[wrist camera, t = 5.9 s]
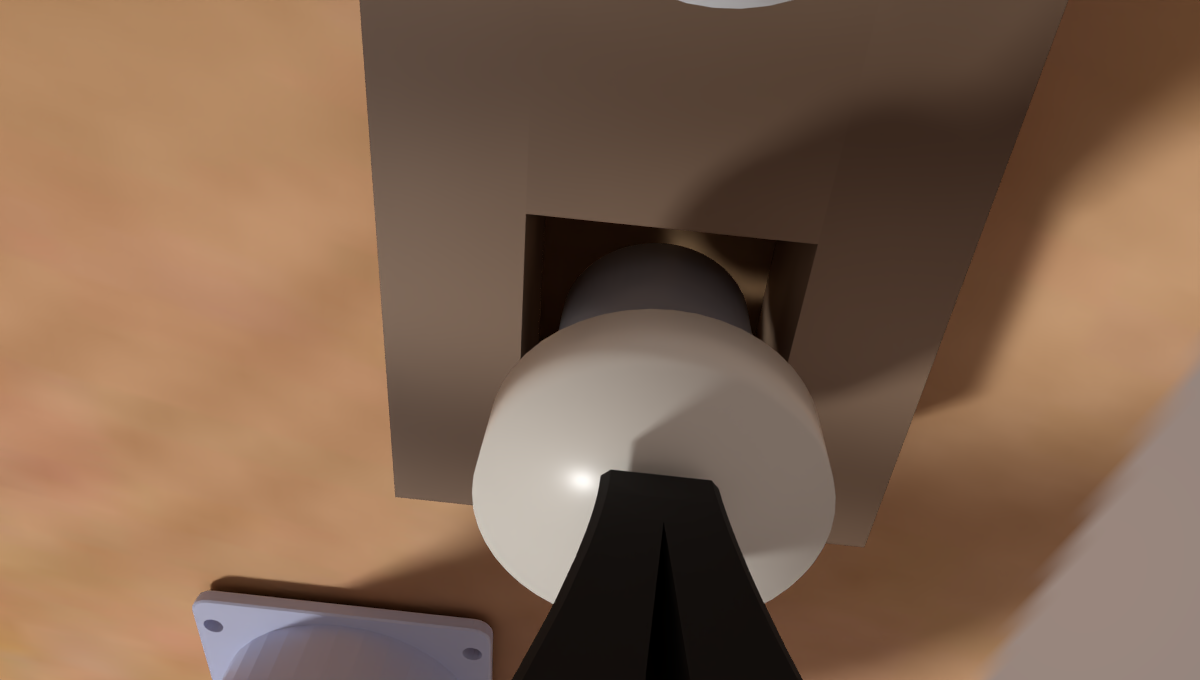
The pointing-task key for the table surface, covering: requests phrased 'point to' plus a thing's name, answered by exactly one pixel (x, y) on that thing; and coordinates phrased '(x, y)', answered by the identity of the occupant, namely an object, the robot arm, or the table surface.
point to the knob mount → (688, 188)
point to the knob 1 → (653, 421)
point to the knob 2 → (734, 3)
